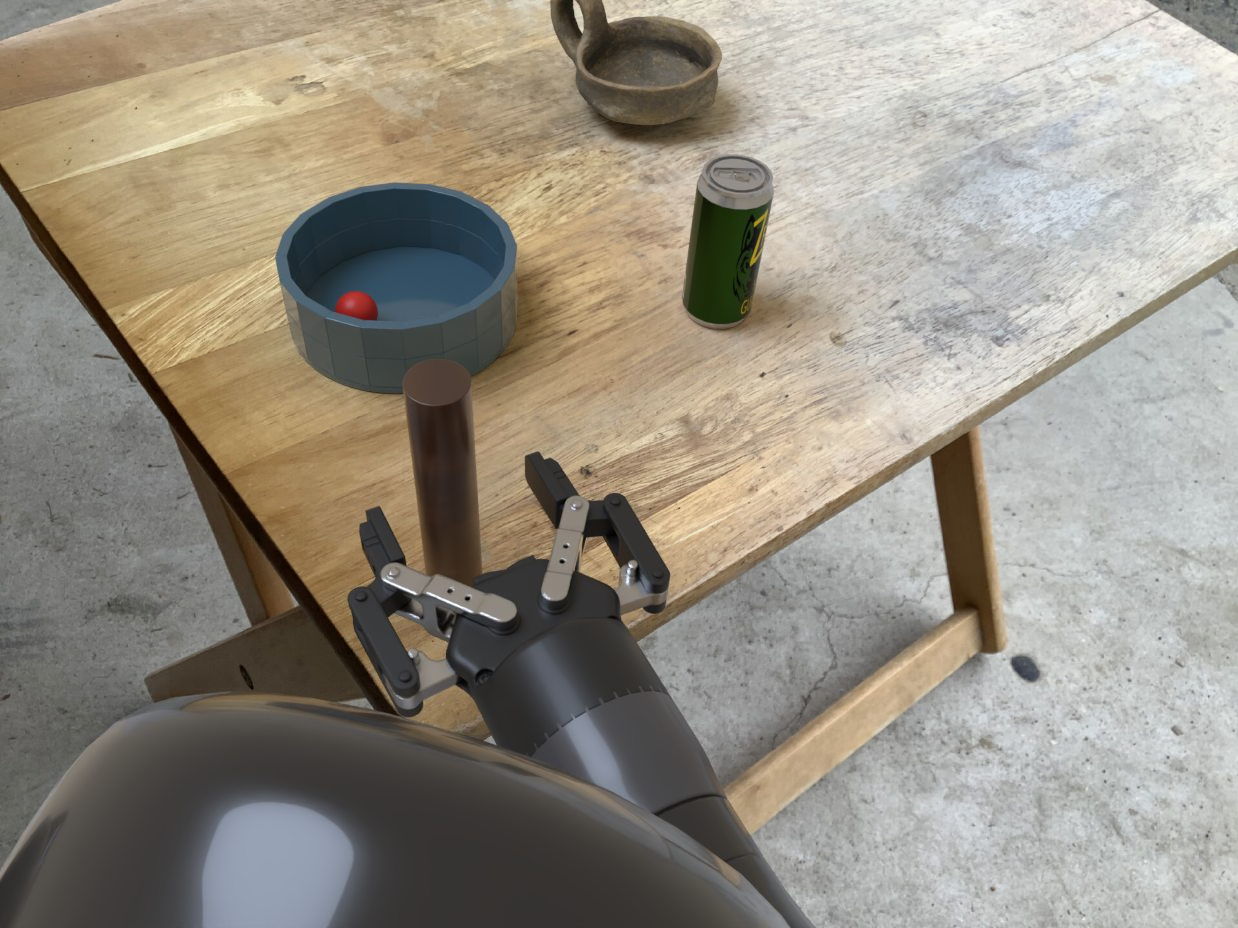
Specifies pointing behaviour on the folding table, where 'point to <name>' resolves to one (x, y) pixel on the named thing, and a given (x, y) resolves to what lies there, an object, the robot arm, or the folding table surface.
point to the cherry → (357, 306)
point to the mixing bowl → (399, 282)
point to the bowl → (638, 63)
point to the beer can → (727, 240)
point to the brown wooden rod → (444, 467)
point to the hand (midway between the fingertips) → (453, 490)
